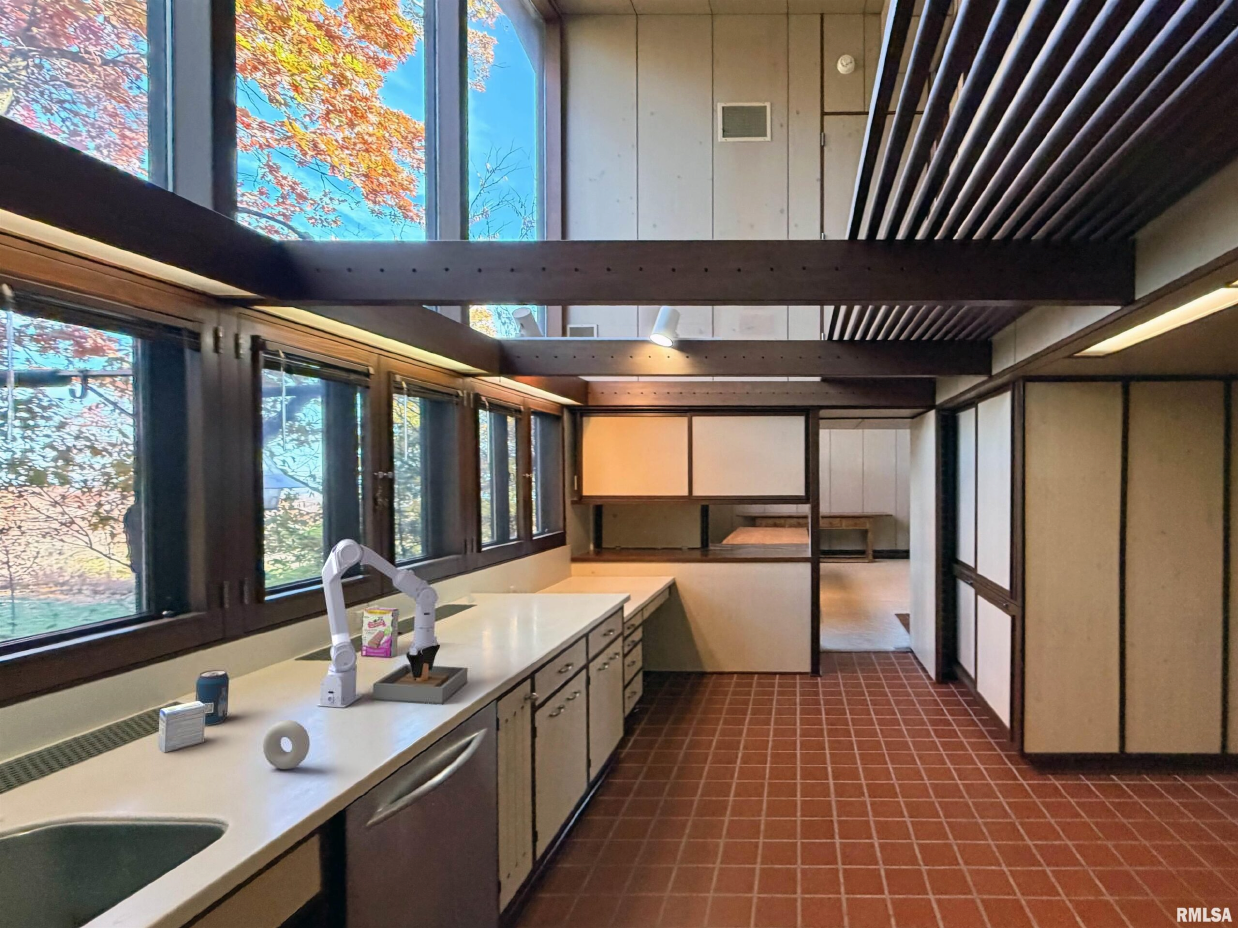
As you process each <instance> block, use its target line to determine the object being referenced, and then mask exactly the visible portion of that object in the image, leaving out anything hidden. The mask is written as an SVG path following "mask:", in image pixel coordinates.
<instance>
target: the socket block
mask: <svg viewBox="0 0 1238 928" xmlns="http://www.w3.org/2000/svg"><path fill="white" fill-rule="evenodd" d="M448 680H450V674H445V673H429V672H428V681H416V678H413V674H412V672H410V673H409V674H407V675H406V676H404V677H403V678H401V679H400V680H398V681H397V682H395V683H394V684H403V685H419V686H434V687H441V686H442V685H443V684H445V683H446V682H447V681H448Z"/></svg>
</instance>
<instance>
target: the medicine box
mask: <svg viewBox="0 0 1238 928" xmlns="http://www.w3.org/2000/svg"><path fill="white" fill-rule="evenodd" d="M205 710H206V706H205V705H204V704H203V703H201V702H200V701H192V702H187V703H181V704H176V705H173V706H169V707H164V708H161V709H160V710H159V719H158V720H159V721H158V722H159V723H158V742H157V743H158V745H157V746H158V748H159V749H160V750H161V751H162V752H163V753H167V752H171V751H174V750H175V751H176V750H178V749H183V748H186V747H189V746H193V745H197V744H201V743H204V742H205V729H206V727H205Z"/></svg>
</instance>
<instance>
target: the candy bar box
mask: <svg viewBox="0 0 1238 928" xmlns="http://www.w3.org/2000/svg"><path fill="white" fill-rule="evenodd" d="M399 612H400V608H399V607H398V608H397V607H385V606H383V607H381V606H368V607H365V608H363V609H362V620H361V621H362V625H361V627H362V628H361V645H360V646H361V649H360V653H361V654H360V656H361V657H369V656H370V657H372V658H373V657H374V658H386V659H387V658H388V659H392V658H394V657H395V656H397V655H398V640H399V639H398V638H399V637H398V634H399V614H400V613H399Z"/></svg>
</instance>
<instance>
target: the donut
mask: <svg viewBox="0 0 1238 928" xmlns="http://www.w3.org/2000/svg"><path fill="white" fill-rule="evenodd" d="M283 738H287V739H288V740H289V742H291V743H290V744H291V750H290V751H286V750H284V748H283V747H282V746H283V745H282V739H283ZM310 746H311V744H310V736H309V733H308V731H307V730H306V729H305V727H304V726H303V725H302V724H301V723H299V722H298V721H294V720H290V719H285V720H280V721H278V722H276V723H274V724H273V725H271V727H270V728H269V729H267V731H266V733H265V735H264V738H263V741H262V750H263V752H262V753H263V754H264V757H265V759H266V760H267V762H268V763H269V764H270V765H272V766H273V767H274V768H276V769H280V770H290V769H293V768H295V767H297V766H299V765H301V763H302V762H304V761H305V759H306V758H307V755H308V754H309V751H310Z"/></svg>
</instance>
